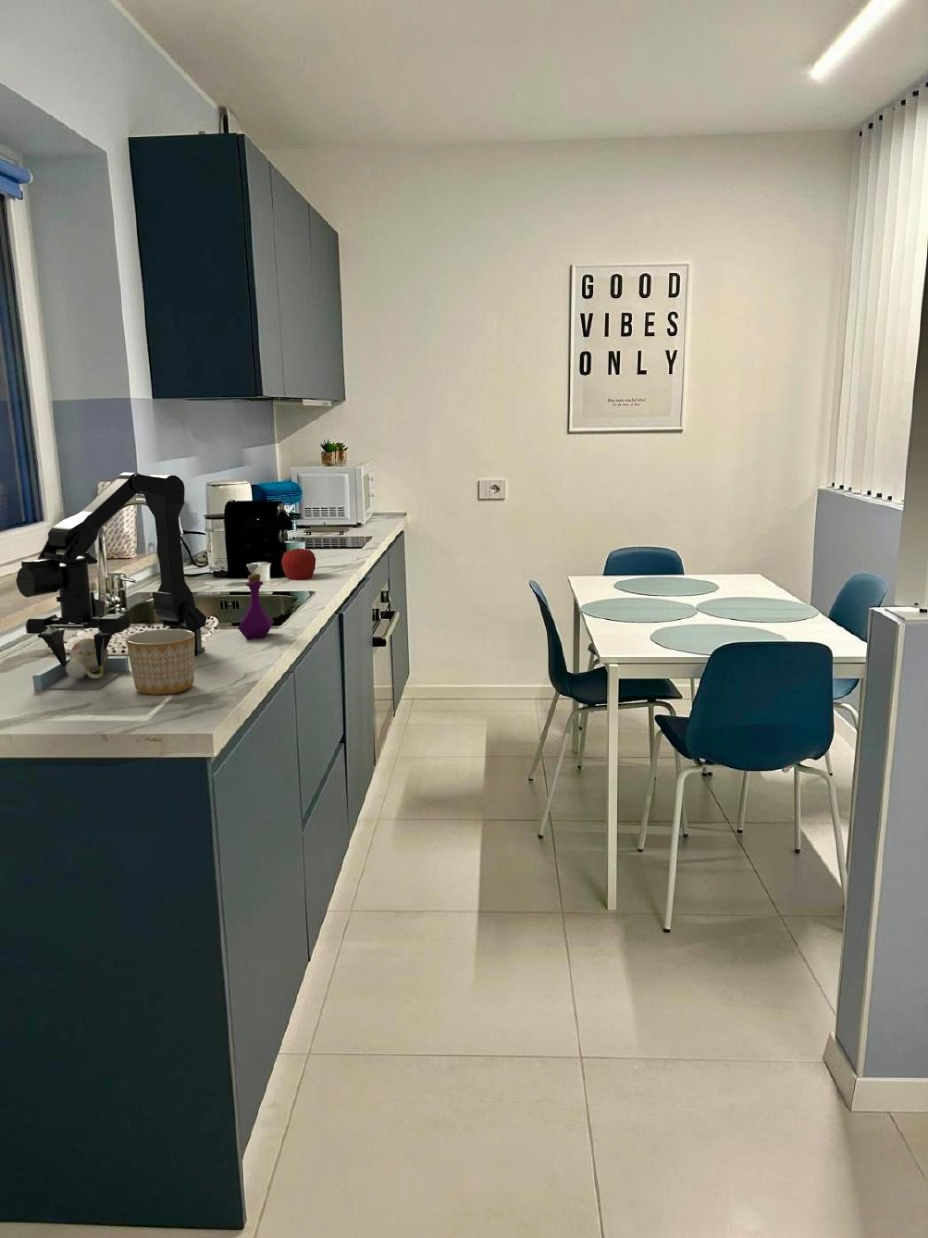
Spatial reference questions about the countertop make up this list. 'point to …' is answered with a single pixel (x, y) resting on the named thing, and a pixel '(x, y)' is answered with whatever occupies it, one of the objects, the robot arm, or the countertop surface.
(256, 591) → the perfume bottle
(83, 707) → the countertop surface
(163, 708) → the countertop surface
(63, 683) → the mat
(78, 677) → the mug
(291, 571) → the apple
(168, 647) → the planter
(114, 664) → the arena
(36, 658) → the countertop surface
